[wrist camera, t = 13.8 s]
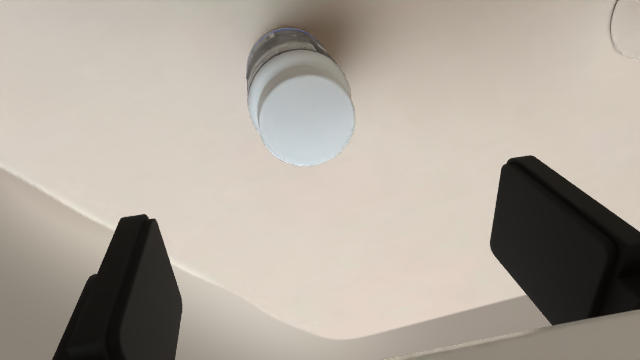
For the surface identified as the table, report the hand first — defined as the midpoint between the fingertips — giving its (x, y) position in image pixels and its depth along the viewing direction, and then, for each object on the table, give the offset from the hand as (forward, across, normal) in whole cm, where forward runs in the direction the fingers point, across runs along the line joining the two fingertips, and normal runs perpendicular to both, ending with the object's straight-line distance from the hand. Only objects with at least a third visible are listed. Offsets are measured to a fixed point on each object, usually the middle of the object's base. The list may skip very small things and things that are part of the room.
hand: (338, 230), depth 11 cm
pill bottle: (+15, 0, 0) cm, 15 cm away
